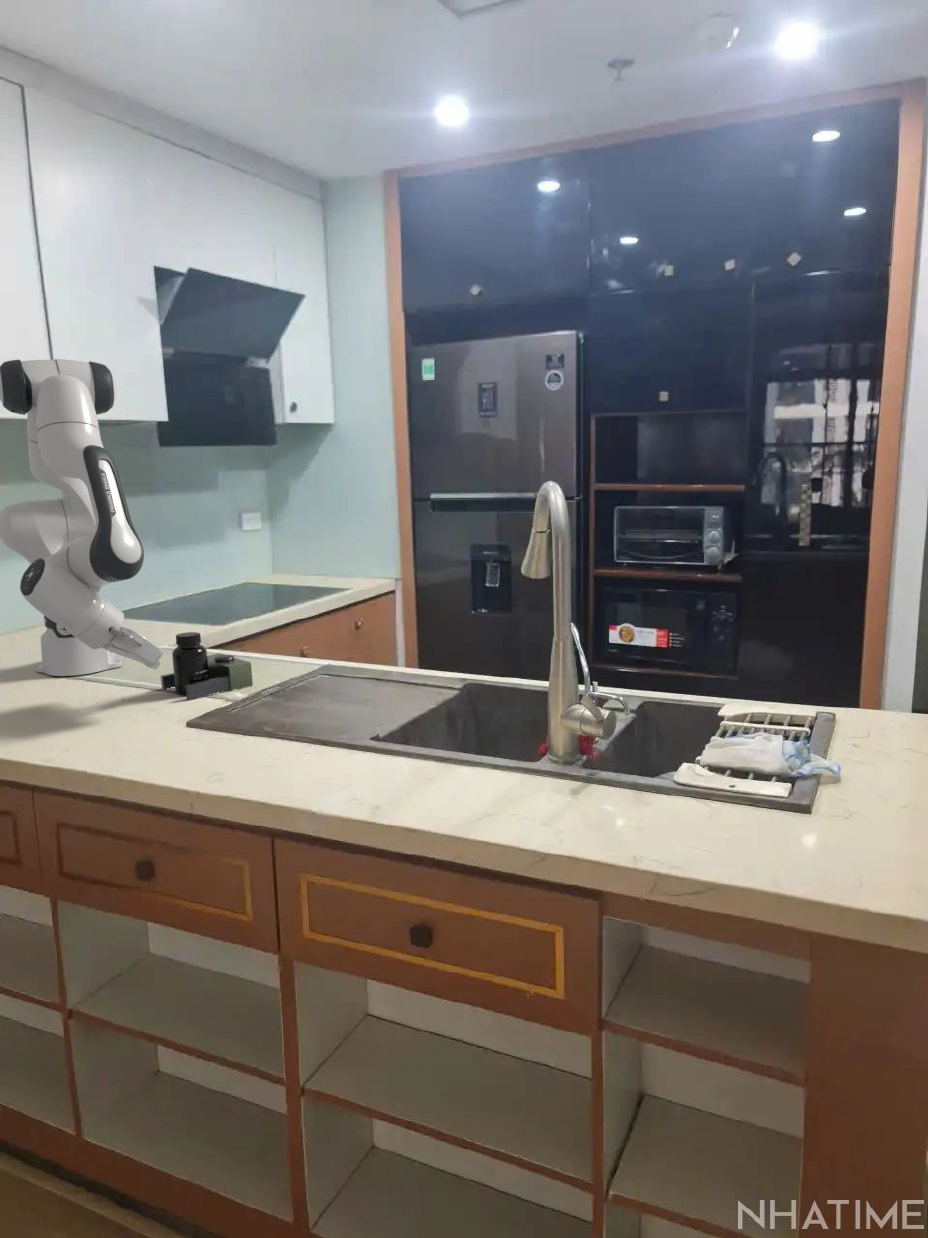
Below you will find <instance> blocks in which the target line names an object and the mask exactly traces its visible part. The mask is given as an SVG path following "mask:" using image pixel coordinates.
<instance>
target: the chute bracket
mask: <svg viewBox="0 0 928 1238" xmlns="http://www.w3.org/2000/svg"><path fill="white" fill-rule="evenodd" d="M207 659H208V671H209V680H205V681H200V682H196V683H191V684H187V685H185V686H186V695H185V696H186V701H193V700H197V699H200V698H201V699H202V698H205V697H208V696H207V695H209V694H213V693H217V692H222V691H226V692H228V691H227V690H233V691H235V690H234V689H237V690H240V689H239V688H242V689H244V688H243V687H246V688H248V687H247V686H250V687H253V686H254V684H253V683H254V682H253V673H252V662H250V661H247V660H243V659H241V658H237V657H235V656H234V655H231V654H224V653H216V654H210V655H207ZM160 682H161V690H162V689H164V690H165V689H167V688H171V687H175V681H174V672H172V673H168V674H162V675H160ZM252 685H253V686H252ZM164 690H163V691H164ZM165 691H166V690H165ZM222 693H223V692H222ZM204 696H205V697H204ZM209 696H210V695H209Z"/></svg>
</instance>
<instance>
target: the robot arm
mask: <svg viewBox="0 0 928 1238" xmlns="http://www.w3.org/2000/svg"><path fill="white" fill-rule="evenodd" d="M112 374H113V373H112V372H111V370H110V369H109V367H108V366H107V365H105V364H103V363H99V362H95V361H91V360H89V361H88V362H85V361H82V360H81V361H80V360H74V359H73V360H72V359H62V358H55V359H30V360H20V359H14V360H13V359H12V360H7V361H3V363H2V364H1V365H0V403H2V407H3V408H5V410H8V412H10V413H14V414H16V415H17V414H18V415H22V416H23V415H24V416H25V415H26V414H27V417H26V426H27V427H26V432H27V433H26V434H27V446H28V447H27V449H28V461H29V463H28V464H29V470H30V472H31V474H32V476H34V478H35V479H36V480H38V481H40V482H41V483H43V484H45V485H47V486H50V487H52V488H54V489H58V490H59V491H61V497H59V498H58V499H43V500H42V499H40V500H26V501H22V502H17V503H14V504H9V505H7V506H4V507H3V508H2V509H1V511H0V540H1V541H2V543H3V544H4V545H5V546H6V547H7V548H8V549H10V550H11V551H14V552H16V553H17V554H19V555H20V556H22V557H23V558H24V559H25V560H26V561H27V562H28V563H29V564H30V565H29V566H28V567H27V569H26V570H25V571H24V573H23V574H22V576H21V580H20V583H19V585H20V586H19V590H20V592H21V594H22V597H23V598H24V600H26V601H27V602H28V603H29V604H30V605H31V607H33V608H35V610H36V611H38V612H39V613H41V614H42V615H43V622H44V627H45V628H46V630H45V632H44V633H42V634H41V636H40V650H41V651H40V652H41V653H40V654H41V664H40V665H38V666H36V672H37V673H43V674H45V675H48V676H51V677H52V676H54V677H69V676H72V677H73V676H80V675H88V674H92V673H97V672H98V673H99V672H101V671H102V672H103V671H106V670H111V669H117V668H121V667H122V666H123V664H124V661H125V659H126V658H127V659H130V660H132V661H133V660H134V661H136V662H138V663H141V664H143V665H144V666H146V667H148V668H150V669H152V670H157V669H158V667H160V665H161V662H160V658H161V657H162V656H163V653H164V651H163V650H162V648H160V647H159V646H158V645H156V644H155V643H154V642H152V641H151V640H150V639H148V638H147V637H146V636H143V635H142V634H140V633H139V632H137V631H135V630H134V629H131V628H127V623H126V622H125V614H124V612H123V611H122V610H121V609H119V608H118V607H116V606H115V605H114V604H113V603H111V602H110V601H108V600H107V599H105V597H103V596H102V595H101V594H100V590H101V589H102V587H104V586H107V585H109V584H112V583H117V582H121V581H125V580H126V581H127V580H130V579H132V578H134V577H135V576H137V574H138V573H140V571H141V569H142V567H143V565H144V559H145V552H144V551H145V550H144V546H143V543H142V541H141V538H140V537H139V535H138V533H137V531H136V529H135V527H134V524H133V521H132V517H131V514H130V510H129V507H128V503H127V499H126V496H125V492H124V489H123V485H122V482H121V478H120V473H119V471H118V468H117V465H116V463H115V460H114V458H113V456H112V454H111V453H110V452H109V450H107V449H106V448H105V447H104V445H103V442H102V438H101V432H100V426H99V420H98V416H97V415H102V414H105V413H107V412H109V411H110V410H111V409H112V408H113V407H114V402H115V400H116V397H117V385H116V381H115V379H114V377H113V375H112Z"/></svg>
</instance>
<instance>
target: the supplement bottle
mask: <svg viewBox="0 0 928 1238" xmlns="http://www.w3.org/2000/svg"><path fill="white" fill-rule="evenodd" d="M175 640H176V641H175V645H177V646H176V647H175V648H174V649H173V651H172V653H171V655H172V656H171V657H172V667H173V668H172V669H173V673H174V681H175V688H174V690H175V692H176V694H178V695H181V696H182V695H183V696H186V686H185V685H187V684H191V683H196V682H200V681H205V680H209V671H208V659H207V656H208V650H207V648H206V647H205V646H204V645H202V644H201V643H202V639H201V633H200V632H195V631H192V632H191V631H190V632H182V633H177V634H176V635H175Z"/></svg>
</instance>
